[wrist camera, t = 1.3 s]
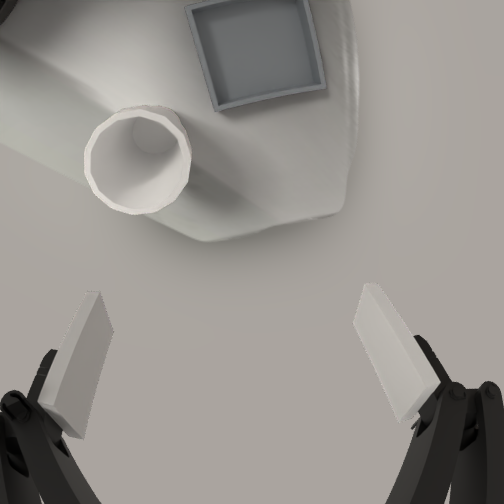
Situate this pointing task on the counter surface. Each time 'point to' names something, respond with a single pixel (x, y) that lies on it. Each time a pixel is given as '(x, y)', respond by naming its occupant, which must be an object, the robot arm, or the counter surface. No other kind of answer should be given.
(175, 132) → the foam cup
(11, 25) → the counter surface
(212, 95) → the tray
